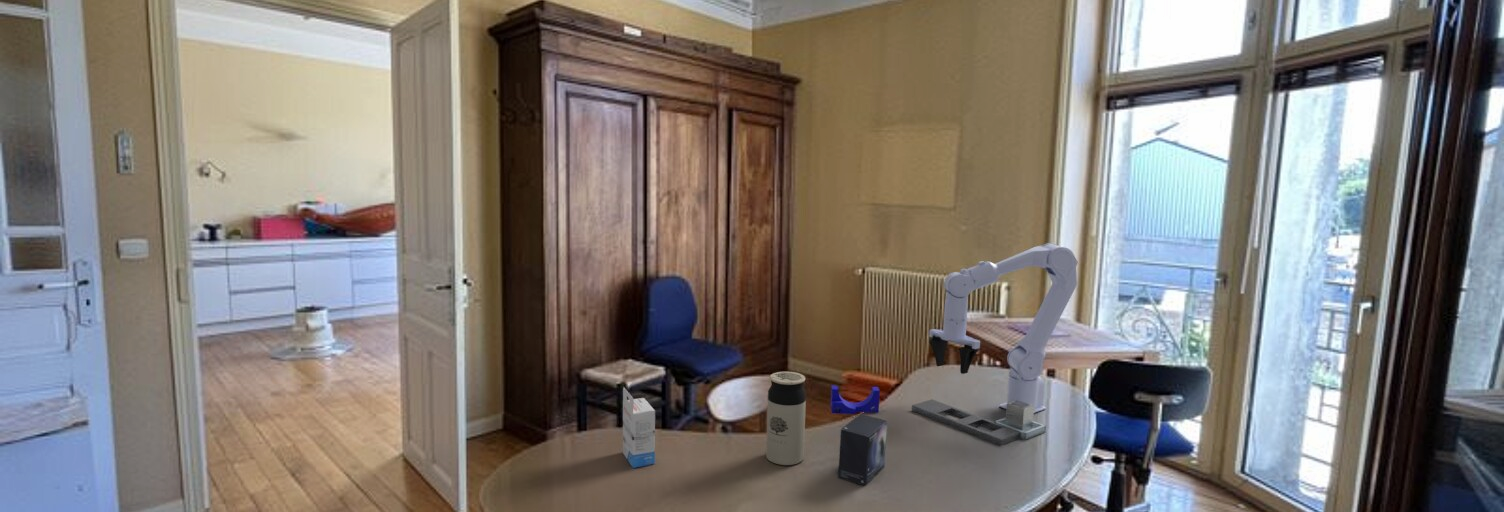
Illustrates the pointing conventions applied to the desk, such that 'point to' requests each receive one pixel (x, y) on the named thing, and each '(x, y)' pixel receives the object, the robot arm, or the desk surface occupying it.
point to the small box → (862, 449)
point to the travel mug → (786, 418)
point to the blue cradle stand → (851, 408)
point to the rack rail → (967, 422)
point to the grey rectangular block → (1019, 415)
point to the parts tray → (1033, 432)
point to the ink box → (638, 431)
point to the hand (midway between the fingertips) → (951, 369)
